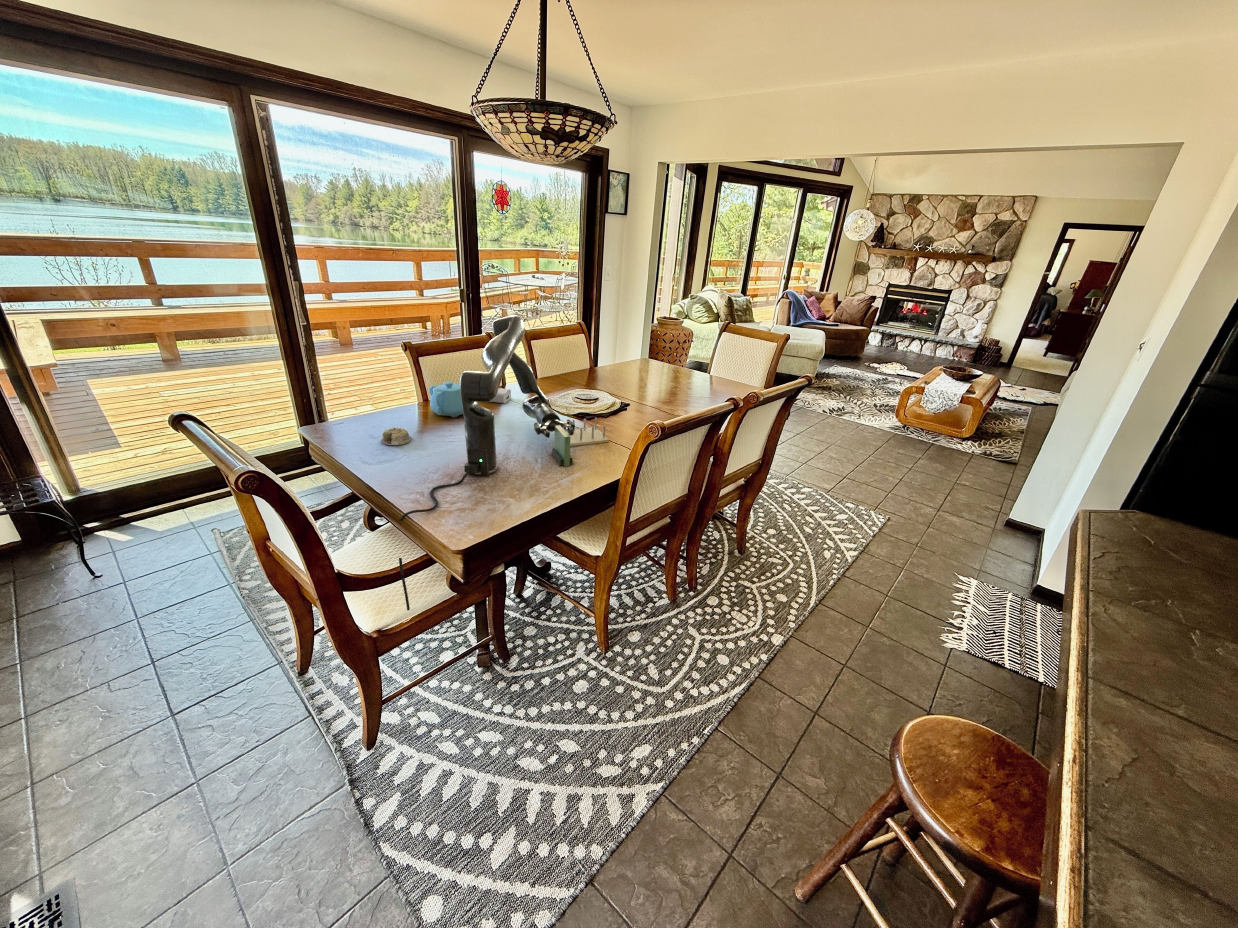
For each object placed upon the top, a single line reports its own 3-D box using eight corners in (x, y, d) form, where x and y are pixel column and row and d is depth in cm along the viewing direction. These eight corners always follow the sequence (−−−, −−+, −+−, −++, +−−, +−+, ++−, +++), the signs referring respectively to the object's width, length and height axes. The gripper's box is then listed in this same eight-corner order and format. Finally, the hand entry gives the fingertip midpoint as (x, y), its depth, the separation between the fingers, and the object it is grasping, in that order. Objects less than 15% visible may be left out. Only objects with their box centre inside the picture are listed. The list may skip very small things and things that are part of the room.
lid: (569, 465, 167) (570, 436, 163) (564, 466, 167) (564, 437, 162) (559, 453, 176) (560, 425, 172) (554, 453, 175) (554, 425, 171)
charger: (481, 395, 231) (511, 398, 229) (473, 400, 223) (504, 404, 221) (480, 385, 229) (510, 388, 227) (472, 390, 221) (503, 394, 219)
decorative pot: (469, 405, 216) (467, 376, 211) (473, 417, 203) (471, 386, 197) (430, 408, 210) (427, 378, 205) (432, 420, 197) (429, 388, 191)
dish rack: (608, 441, 189) (609, 427, 186) (568, 446, 182) (569, 431, 180) (595, 429, 200) (596, 415, 197) (557, 433, 194) (557, 419, 191)
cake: (399, 434, 183) (398, 421, 181) (416, 441, 179) (416, 428, 177) (375, 440, 175) (374, 426, 173) (393, 448, 171) (392, 433, 169)
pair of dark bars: (572, 464, 168) (572, 458, 167) (560, 466, 166) (560, 459, 165) (563, 453, 176) (563, 447, 175) (551, 454, 175) (551, 448, 174)
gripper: (528, 411, 178) (540, 426, 165) (565, 407, 183) (579, 422, 170) (529, 429, 181) (541, 446, 168) (565, 426, 187) (579, 441, 173)
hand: (560, 434), depth 169 cm, fingers open, 8 cm apart
